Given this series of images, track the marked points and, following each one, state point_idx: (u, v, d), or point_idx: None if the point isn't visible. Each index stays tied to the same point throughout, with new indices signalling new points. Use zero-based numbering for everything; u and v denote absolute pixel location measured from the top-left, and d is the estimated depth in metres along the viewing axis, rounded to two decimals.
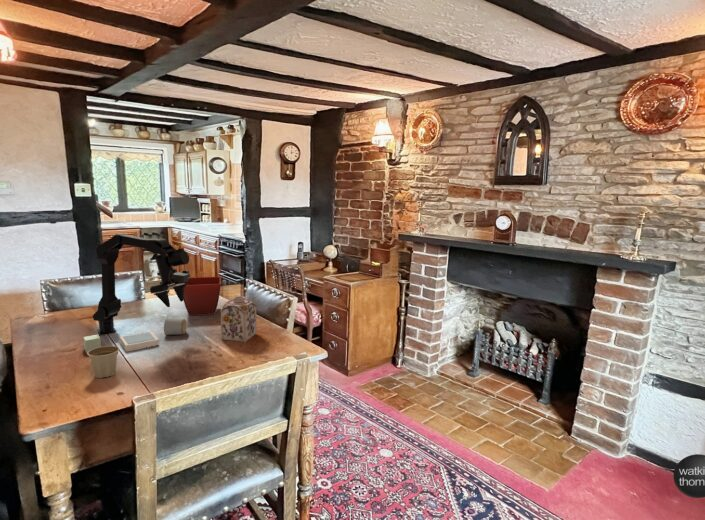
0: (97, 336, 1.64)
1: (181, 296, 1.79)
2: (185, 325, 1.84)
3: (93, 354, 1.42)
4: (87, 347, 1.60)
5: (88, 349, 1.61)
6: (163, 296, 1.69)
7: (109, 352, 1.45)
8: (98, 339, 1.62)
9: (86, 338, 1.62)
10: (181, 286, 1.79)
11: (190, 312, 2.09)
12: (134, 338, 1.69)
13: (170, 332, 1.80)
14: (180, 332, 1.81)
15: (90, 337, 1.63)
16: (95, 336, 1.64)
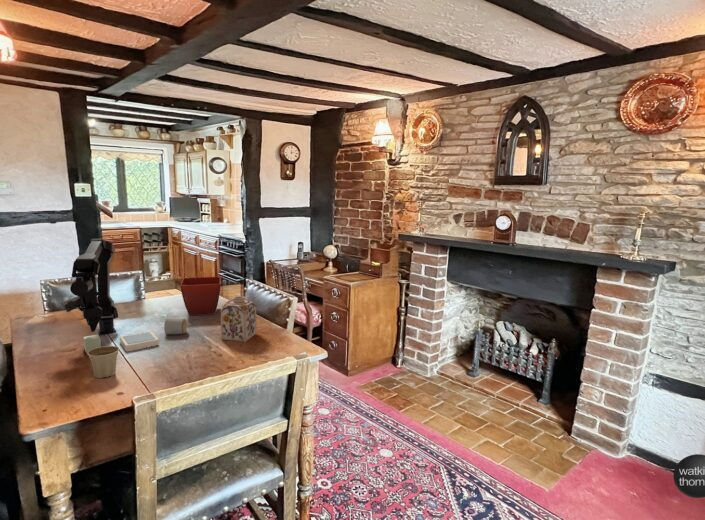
0: (97, 336, 1.64)
1: None
2: (185, 325, 1.85)
3: (93, 354, 1.42)
4: (87, 347, 1.60)
5: (88, 349, 1.61)
6: None
7: (109, 352, 1.45)
8: (98, 339, 1.62)
9: (86, 338, 1.62)
10: None
11: (190, 312, 2.09)
12: (134, 338, 1.69)
13: (170, 332, 1.80)
14: (180, 332, 1.81)
15: (90, 337, 1.63)
16: (95, 336, 1.64)
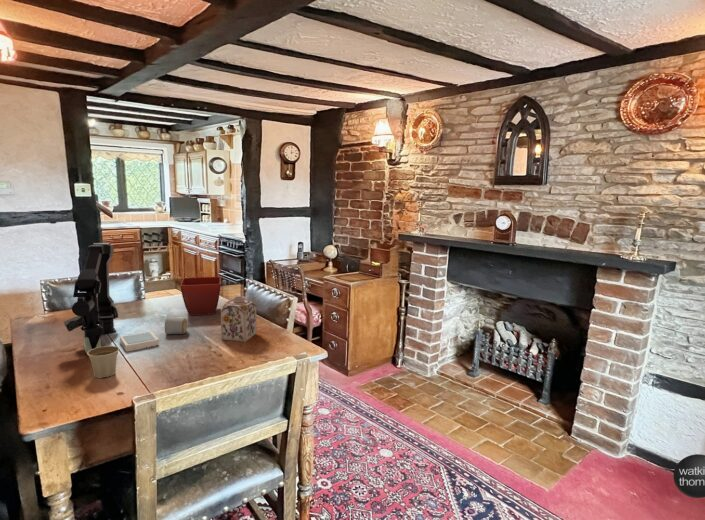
0: None
1: None
2: (186, 324, 1.85)
3: (93, 354, 1.42)
4: (87, 347, 1.60)
5: (88, 349, 1.61)
6: None
7: (109, 352, 1.45)
8: None
9: (86, 338, 1.62)
10: None
11: (190, 312, 2.09)
12: (134, 338, 1.69)
13: (170, 332, 1.81)
14: (181, 331, 1.82)
15: None
16: None
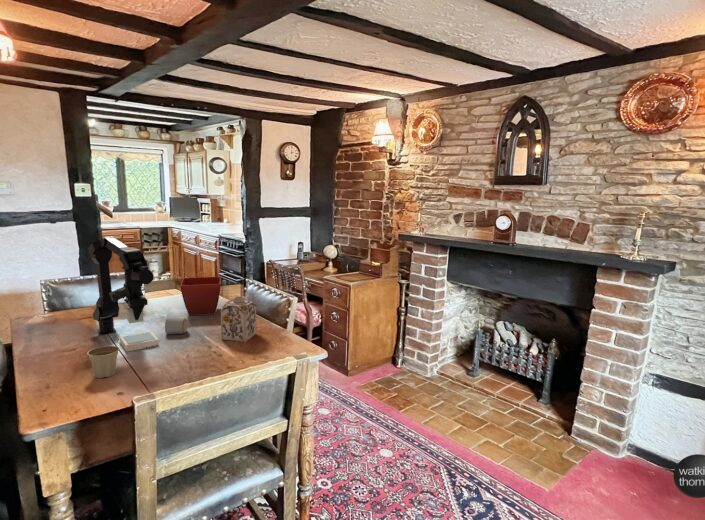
0: None
1: None
2: (186, 324, 1.86)
3: (93, 354, 1.42)
4: (130, 318, 1.65)
5: (131, 320, 1.65)
6: None
7: (109, 352, 1.45)
8: None
9: (129, 309, 1.67)
10: None
11: (190, 312, 2.09)
12: (134, 338, 1.69)
13: (170, 331, 1.81)
14: (181, 331, 1.82)
15: None
16: None
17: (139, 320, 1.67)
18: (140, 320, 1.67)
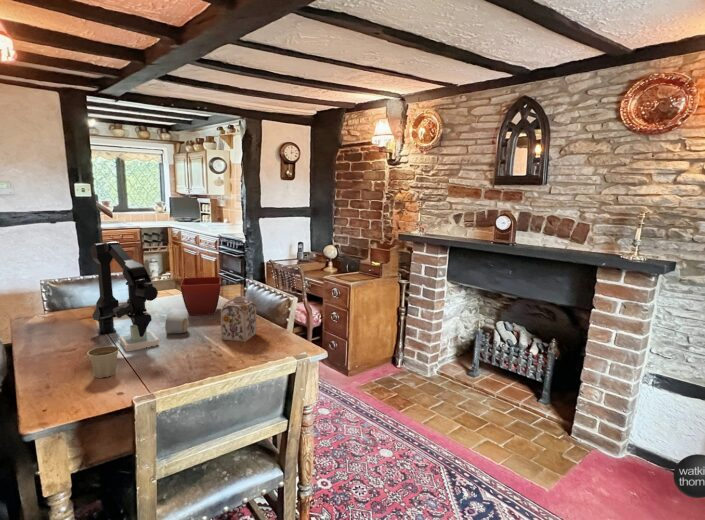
0: None
1: None
2: (186, 324, 1.86)
3: (93, 354, 1.42)
4: (134, 335, 1.67)
5: (135, 337, 1.67)
6: None
7: (109, 352, 1.45)
8: None
9: (133, 326, 1.68)
10: None
11: (190, 312, 2.09)
12: None
13: (171, 331, 1.82)
14: (181, 331, 1.83)
15: (136, 325, 1.70)
16: None
17: (143, 337, 1.69)
18: (144, 337, 1.69)
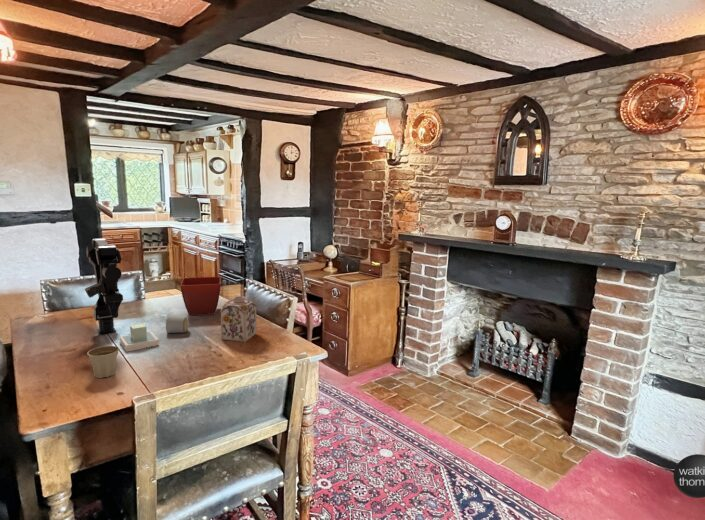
0: (143, 325, 1.71)
1: None
2: (187, 323, 1.87)
3: (93, 354, 1.42)
4: (134, 335, 1.67)
5: (135, 337, 1.67)
6: None
7: (109, 352, 1.45)
8: (144, 327, 1.69)
9: (133, 326, 1.68)
10: None
11: (190, 312, 2.09)
12: None
13: (171, 330, 1.83)
14: (182, 330, 1.83)
15: (136, 325, 1.70)
16: (141, 325, 1.71)
17: (143, 337, 1.69)
18: (144, 337, 1.69)
